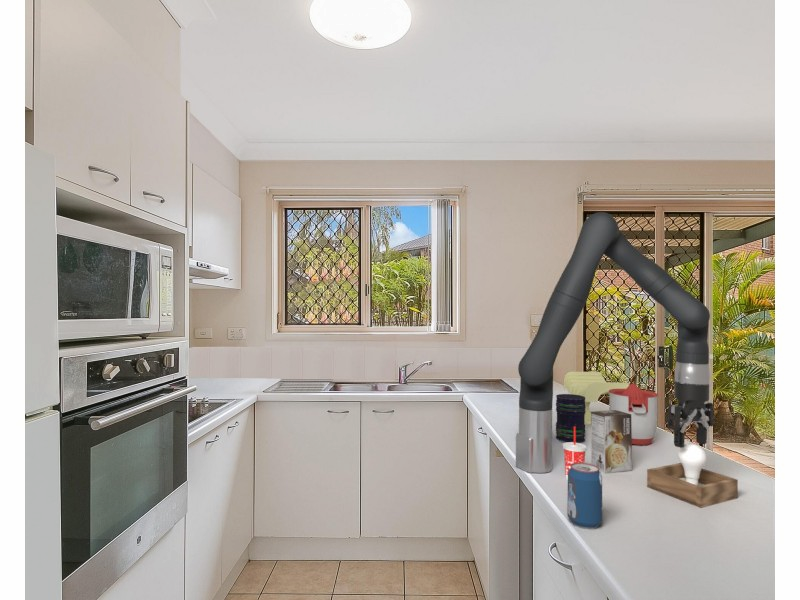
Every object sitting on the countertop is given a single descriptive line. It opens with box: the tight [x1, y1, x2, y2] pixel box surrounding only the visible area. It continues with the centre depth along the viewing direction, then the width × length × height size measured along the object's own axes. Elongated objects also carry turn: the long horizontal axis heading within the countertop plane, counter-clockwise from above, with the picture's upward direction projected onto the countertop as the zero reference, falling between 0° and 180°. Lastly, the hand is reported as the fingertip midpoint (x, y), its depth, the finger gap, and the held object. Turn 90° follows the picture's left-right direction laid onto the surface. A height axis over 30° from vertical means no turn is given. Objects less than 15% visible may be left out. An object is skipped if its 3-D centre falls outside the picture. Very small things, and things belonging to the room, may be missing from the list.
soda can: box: [567, 462, 603, 530], centre depth 103 cm, size 7×7×12 cm
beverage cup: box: [562, 426, 587, 481], centre depth 129 cm, size 6×6×14 cm
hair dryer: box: [563, 371, 630, 425], centre depth 198 cm, size 30×16×18 cm, turn 176°
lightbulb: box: [677, 443, 707, 486], centre depth 121 cm, size 6×6×11 cm
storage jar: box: [555, 393, 586, 444], centre depth 168 cm, size 10×10×15 cm
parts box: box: [646, 462, 739, 508], centre depth 121 cm, size 14×14×4 cm
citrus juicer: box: [608, 383, 659, 446], centre depth 166 cm, size 16×17×20 cm
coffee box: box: [590, 410, 633, 474], centre depth 138 cm, size 9×6×16 cm
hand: (690, 445), depth 121 cm, fingers open, 8 cm apart
